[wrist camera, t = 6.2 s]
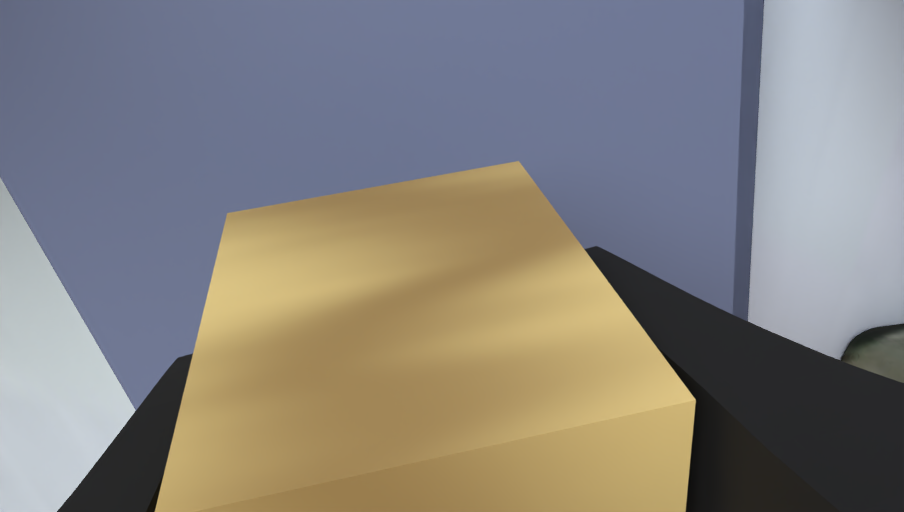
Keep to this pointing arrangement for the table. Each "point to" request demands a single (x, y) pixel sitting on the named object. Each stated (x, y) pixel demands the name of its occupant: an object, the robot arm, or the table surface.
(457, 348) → the mustard block
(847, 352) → the tan upright rounded block
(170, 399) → the robot arm
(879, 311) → the table surface
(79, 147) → the slate blue book
